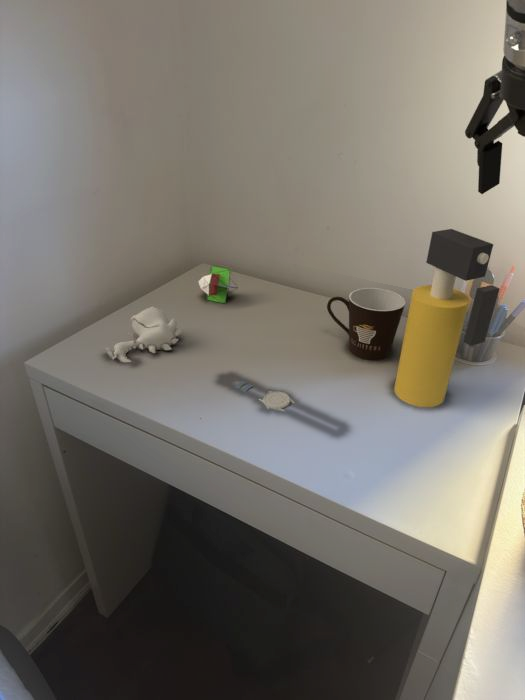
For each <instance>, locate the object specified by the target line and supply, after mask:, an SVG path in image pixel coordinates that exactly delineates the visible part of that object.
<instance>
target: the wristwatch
mask: <svg viewBox="0 0 525 700" xmlns="http://www.w3.org/2000/svg"><path fill="white" fill-rule="evenodd" d="M246 384H247V385H246ZM244 385H245V386H244ZM243 386H244V387H243ZM242 387H243V388H242ZM253 387H254V385H253V384H252V383H247V382H246V381H244V380H242V381H240V382H239V383H237V384H236V385H235V386H234V388H236V389H238V390H239V389H241V388H242V389H241V391H242V392H245V393H246V392H247V391H248V390H249V389H251V388H253ZM258 400H259V401H260V402H261V403H262V404H263V405H264V406H265V408H266V409H267V410H275V411H280V412H281V411H282V412H286V410H285V409H284V408H287V407H288V406H289V405H290V403H292V404H296V402H295V401H294V400H293V399H292V398H291V396H289V394H287V392H283V391H278V390H275V391H269V390H268V393H266V394H265V395H264V396H263V399H261V398H258Z"/></svg>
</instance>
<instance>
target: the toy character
mask: <svg viewBox="0 0 525 700" xmlns="http://www.w3.org/2000/svg"><path fill="white" fill-rule="evenodd" d="M130 321H131V329H133V331H134V333H135V334H136V335H137V336H138V337H137V339H136V338H135V336H134V334H133V333H132V332H130V331H129V332H128V335H129V336H131V337H132V340H128V341H121V342H118V343H116V344H115V345H114V346H113V351H114V352H112V350H111V349H110V347H106V348H105V349H106V352H107V355H108V356H109V357H110V359H112V360H115V359H118V361H119V362H121V363H131V362H132V360H130V358H128V356H126V354H127V353H128V352H129V350H132V349H134V350H135V349H137V347H138V348H139V349H140V350H142V351H143V350H144V348H146V349H148V351H149V352H150V353H152V354H156V351H163V350H164V351H171V350H173V348H172V347H171V345H175V344H176V343H177V342H179V338H177V337H178V336H180V335H181V333H182V332H183V329H180V328H177V324H178V323H177V320H176V318H172V319H171V320H170V322H169V319H168V316H167V315H166V313H165V312H164V311H163V310H162V309H160V308H157V307H156V306H150V307H148V308H145V309H143V310H142V311H140V312H139V313H137V314H133V315H132V316H131V318H130Z"/></svg>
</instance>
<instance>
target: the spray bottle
mask: <svg viewBox="0 0 525 700" xmlns="http://www.w3.org/2000/svg"><path fill="white" fill-rule="evenodd" d="M493 247H494V243H492V242H489V241H486V240H483V239H480V238H478V237H475V236H472V235H469V234H466V233H464V232H461V231H459V230H456V229H453V228H447V229H442V230H435V231H431V236H430V242H429V246H428V252H427V256H426V264H428V265H430V266H433V267H434V268H435V269H434V273H433V277H432V278H433V279H432V283H431V284H428V285H421V286H417V287H415V288H413V290H412V293H411V298H410V304H409V308H408V314H407V319H406V325H405V329H404V330H405V331H404V335H403V340H402V346H401V351H400V356H399V361H398V368H397V372H396V377H395V383H394V389H393V390H394V394H395V395H396V397H398V399H400V400H401V401H403V402H405V403H406V404H409V405H411V406H414V407H419V408H433V407H437V406H440V405H442V404H443V402H444V401H445V399H446V394H447V391H448V385H449V382H450V380H451V379H450V378H451V374H452V371H453V367H454V363H455V359H456V354H457V351H458V347H459V344H460V339H461V335H462V331H463V328H464V323H465V320H466V316H467V312H468V308H469V304H470V298H469V296H468V295H467V294H466V293H464V292H462V291H460V290H458V289H456V288H454V287H455V283H456V278H458V279H460V280H463V281H465V282H468V281H472V280H477V279H481V278H485V277H486V274H487V270H488V266H489V263H490V259H491V257H492V251H493Z"/></svg>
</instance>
